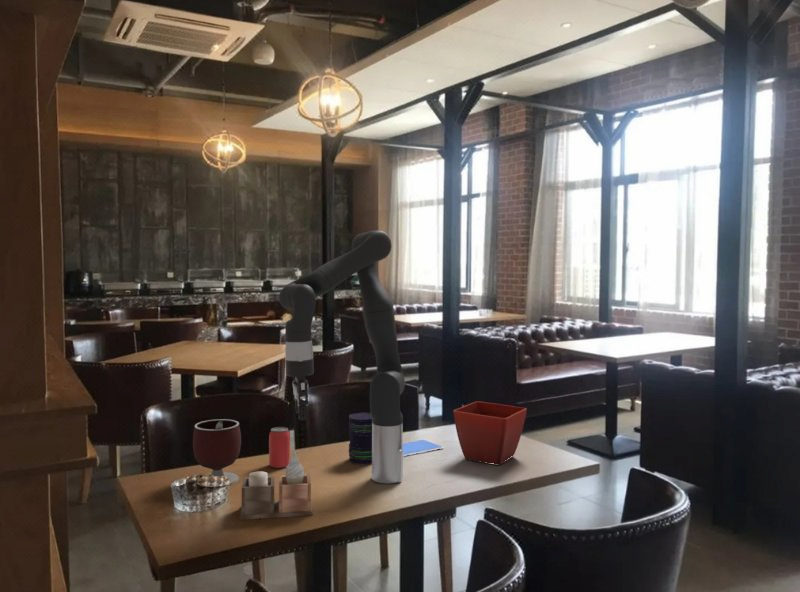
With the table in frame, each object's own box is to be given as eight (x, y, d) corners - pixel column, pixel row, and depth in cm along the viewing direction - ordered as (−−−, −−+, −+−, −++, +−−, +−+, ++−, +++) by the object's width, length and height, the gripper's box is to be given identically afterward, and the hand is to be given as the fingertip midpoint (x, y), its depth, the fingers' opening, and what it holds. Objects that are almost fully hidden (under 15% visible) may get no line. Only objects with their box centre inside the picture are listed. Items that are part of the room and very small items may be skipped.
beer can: (265, 467, 207) (264, 430, 207) (276, 461, 213) (276, 425, 213) (282, 470, 205) (282, 432, 204) (293, 464, 211) (293, 427, 210)
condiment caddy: (311, 502, 177) (311, 466, 177) (312, 515, 168) (312, 477, 168) (241, 506, 174) (241, 469, 173) (239, 519, 165) (239, 481, 164)
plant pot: (527, 456, 222) (527, 407, 221) (504, 470, 205) (505, 418, 205) (476, 447, 232) (477, 400, 231) (451, 460, 216) (451, 410, 215)
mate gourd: (190, 476, 198) (190, 411, 197) (237, 471, 203) (236, 408, 202) (196, 493, 184) (195, 423, 183) (245, 486, 189) (245, 419, 188)
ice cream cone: (285, 502, 174) (286, 447, 173) (304, 502, 174) (305, 447, 174) (284, 509, 169) (284, 452, 168) (303, 509, 169) (303, 452, 169)
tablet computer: (399, 459, 218) (399, 455, 218) (379, 450, 229) (379, 446, 229) (444, 450, 229) (444, 447, 229) (423, 442, 240) (423, 439, 240)
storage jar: (367, 466, 209) (367, 420, 208) (342, 461, 214) (342, 416, 213) (384, 458, 217) (384, 414, 217) (360, 454, 222) (360, 411, 222)
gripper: (283, 355, 182) (285, 412, 183) (287, 361, 169) (289, 423, 169) (310, 353, 184) (312, 410, 185) (316, 360, 170) (318, 421, 171)
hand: (301, 416), depth 177 cm, fingers open, 8 cm apart
